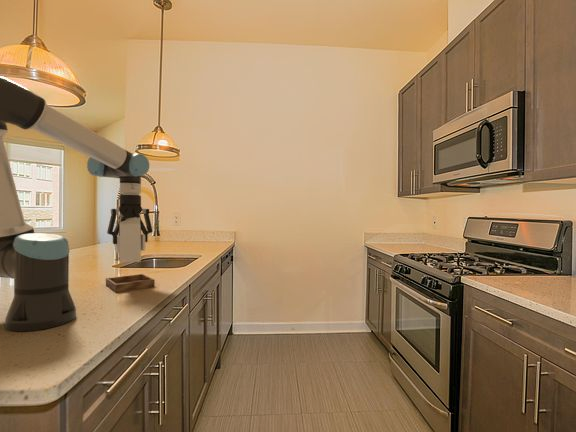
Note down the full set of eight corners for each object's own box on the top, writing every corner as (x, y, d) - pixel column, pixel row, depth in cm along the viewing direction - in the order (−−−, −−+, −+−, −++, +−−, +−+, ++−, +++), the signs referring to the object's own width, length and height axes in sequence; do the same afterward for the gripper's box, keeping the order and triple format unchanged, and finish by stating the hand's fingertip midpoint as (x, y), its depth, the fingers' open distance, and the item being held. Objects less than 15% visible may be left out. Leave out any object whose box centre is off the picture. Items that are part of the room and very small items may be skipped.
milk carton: (140, 262, 124) (139, 213, 124) (119, 263, 122) (119, 213, 121) (141, 259, 131) (140, 213, 130) (121, 260, 128) (121, 213, 128)
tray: (115, 292, 116) (115, 284, 116) (105, 285, 127) (105, 278, 127) (154, 286, 126) (154, 279, 126) (142, 280, 136) (142, 273, 136)
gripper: (102, 193, 115) (102, 255, 116) (161, 195, 130) (161, 250, 131) (97, 193, 121) (97, 252, 122) (154, 195, 136) (154, 248, 136)
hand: (130, 251), depth 126 cm, fingers closed on milk carton, 9 cm apart
